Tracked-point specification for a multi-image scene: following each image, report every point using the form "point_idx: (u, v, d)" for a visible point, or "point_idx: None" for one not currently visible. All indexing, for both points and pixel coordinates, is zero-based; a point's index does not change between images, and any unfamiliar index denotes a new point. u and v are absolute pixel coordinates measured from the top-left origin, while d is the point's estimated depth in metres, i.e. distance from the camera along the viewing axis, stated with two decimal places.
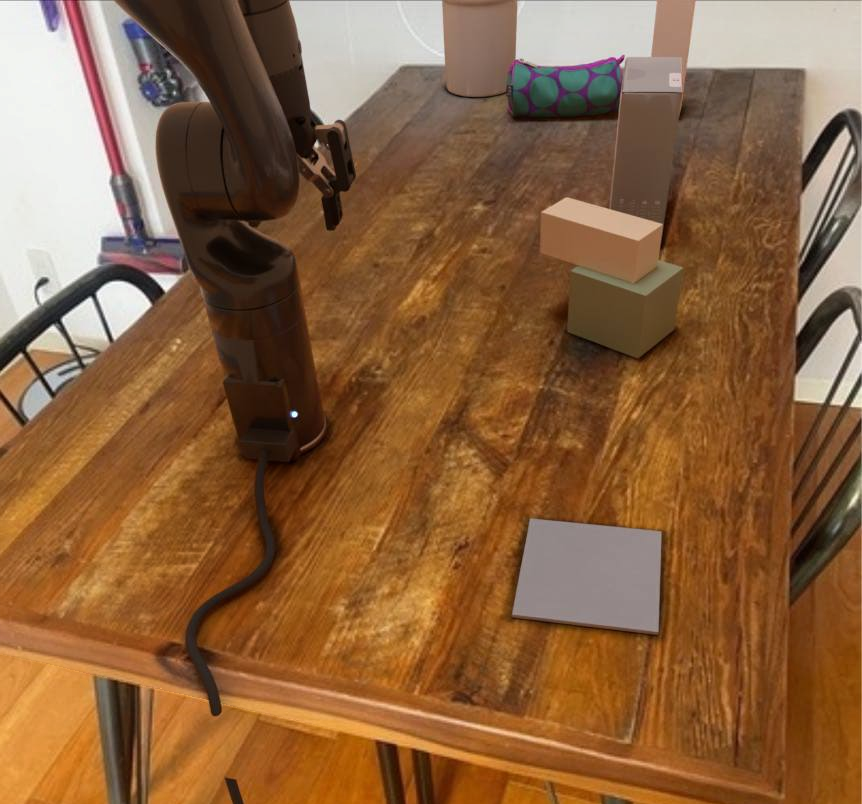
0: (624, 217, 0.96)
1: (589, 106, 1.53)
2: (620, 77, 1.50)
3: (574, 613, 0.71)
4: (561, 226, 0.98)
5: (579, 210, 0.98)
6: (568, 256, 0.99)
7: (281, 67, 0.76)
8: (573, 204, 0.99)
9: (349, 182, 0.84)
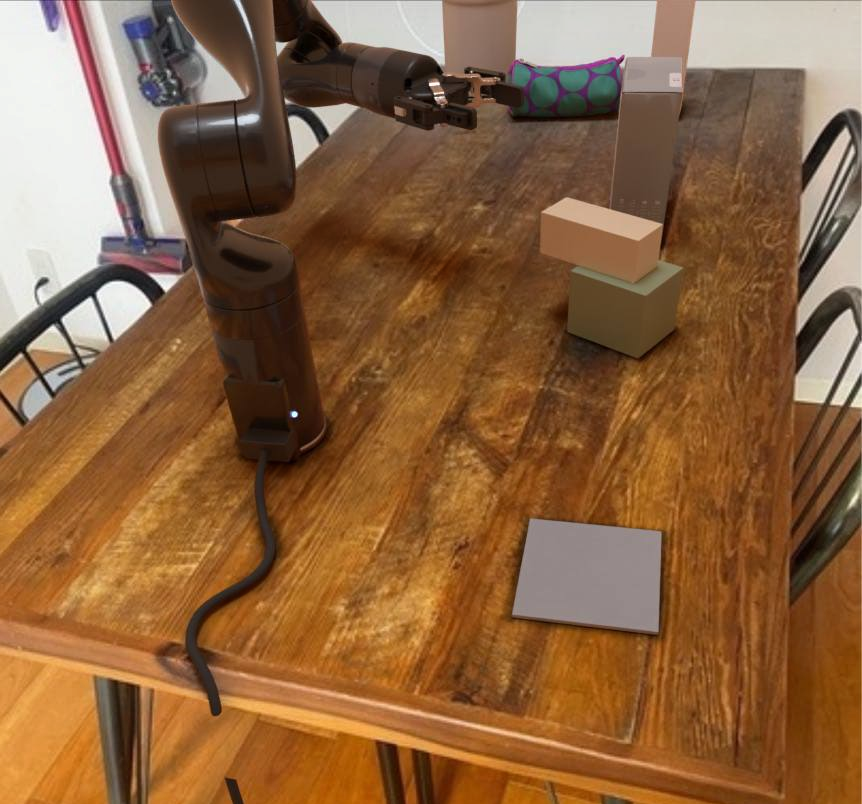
0: (624, 217, 0.96)
1: (589, 106, 1.53)
2: (620, 77, 1.50)
3: (574, 613, 0.71)
4: (561, 226, 0.98)
5: (579, 210, 0.98)
6: (568, 256, 0.99)
7: None
8: (573, 204, 0.99)
9: None
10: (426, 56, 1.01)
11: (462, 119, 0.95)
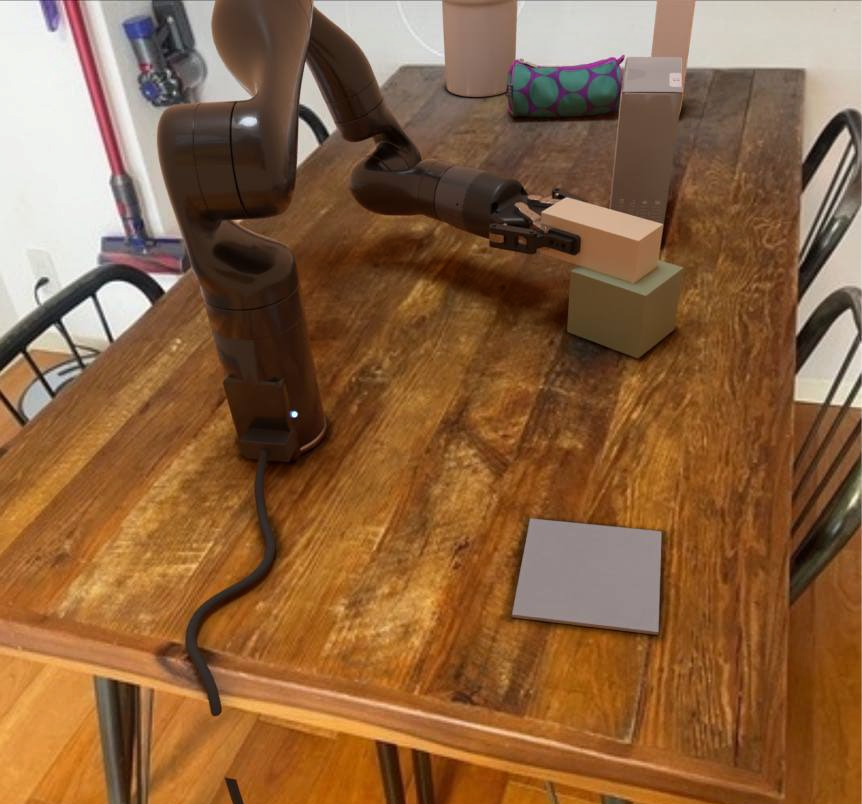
0: (624, 217, 0.96)
1: (589, 106, 1.53)
2: (620, 77, 1.50)
3: (574, 613, 0.71)
4: (561, 226, 0.98)
5: (579, 210, 0.98)
6: (568, 256, 0.99)
7: None
8: (573, 204, 0.99)
9: (585, 201, 1.03)
10: (512, 179, 1.03)
11: (567, 246, 0.97)
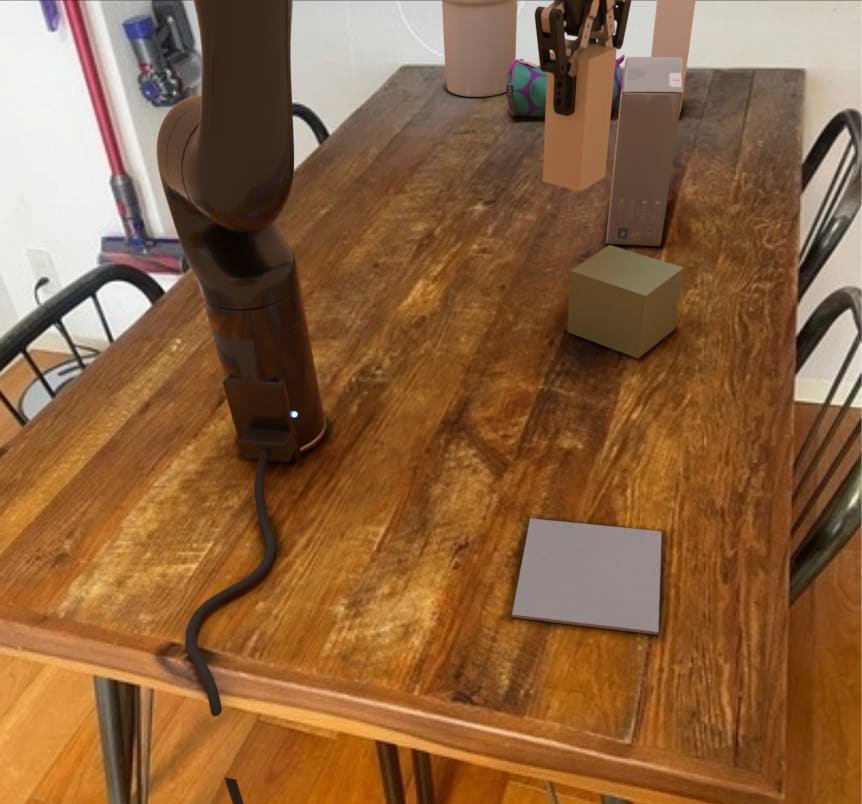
0: (603, 138, 0.92)
1: None
2: (620, 77, 1.50)
3: (574, 613, 0.71)
4: (578, 90, 0.87)
5: (602, 89, 0.88)
6: (551, 97, 0.89)
7: None
8: (608, 71, 0.87)
9: None
10: None
11: (560, 107, 0.88)
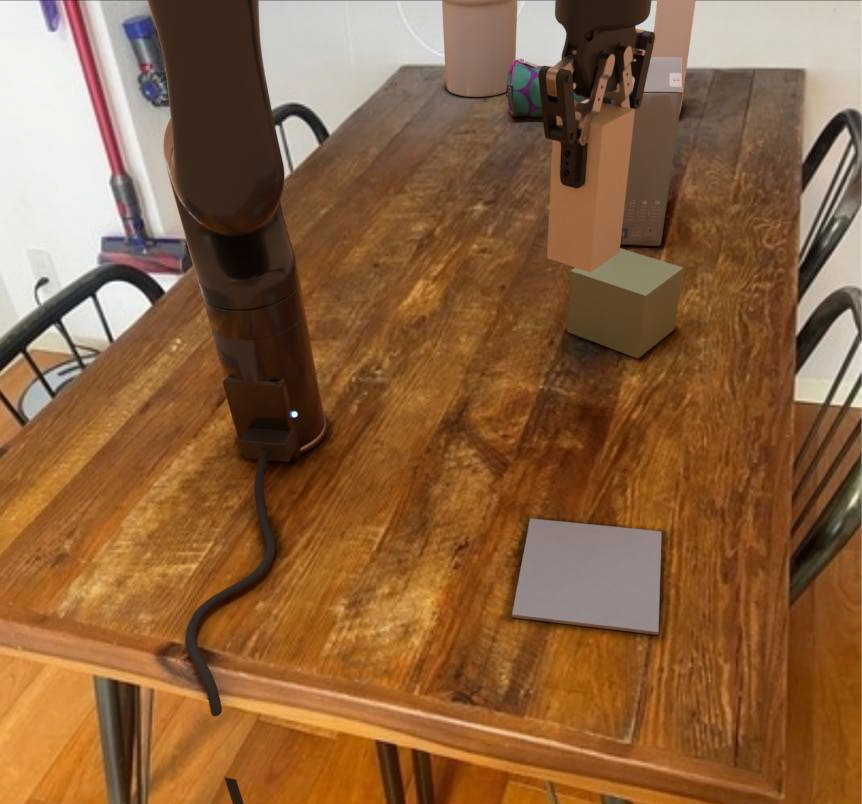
0: (618, 211, 0.79)
1: None
2: None
3: (574, 613, 0.71)
4: (590, 159, 0.73)
5: (617, 156, 0.75)
6: (557, 165, 0.76)
7: None
8: (624, 136, 0.74)
9: None
10: (646, 18, 0.67)
11: (567, 178, 0.74)
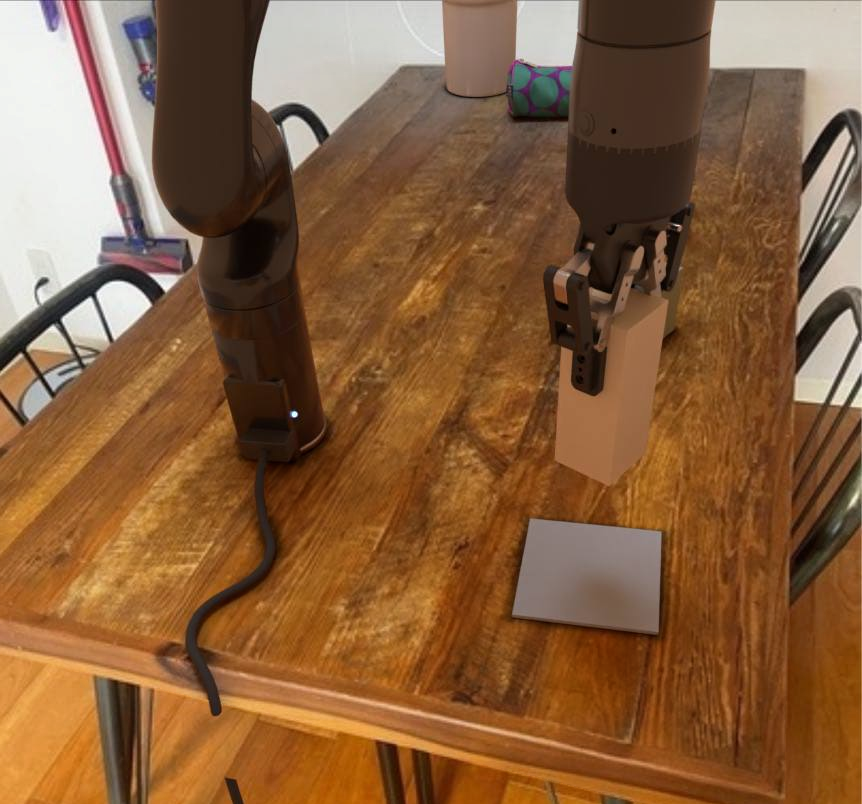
0: (645, 412, 0.62)
1: None
2: None
3: (574, 613, 0.71)
4: (610, 365, 0.57)
5: (645, 357, 0.58)
6: (568, 364, 0.59)
7: None
8: (655, 333, 0.58)
9: None
10: (686, 204, 0.50)
11: (581, 386, 0.58)
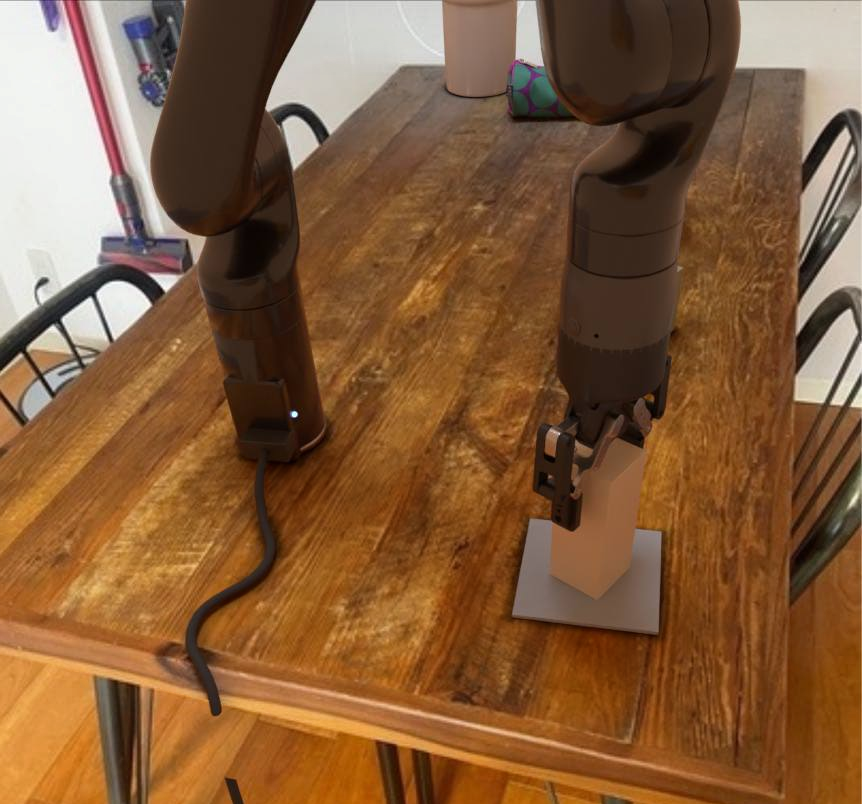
0: (628, 537, 0.71)
1: None
2: None
3: (574, 613, 0.71)
4: (596, 507, 0.66)
5: (627, 497, 0.67)
6: None
7: None
8: (635, 478, 0.66)
9: None
10: None
11: (559, 523, 0.65)
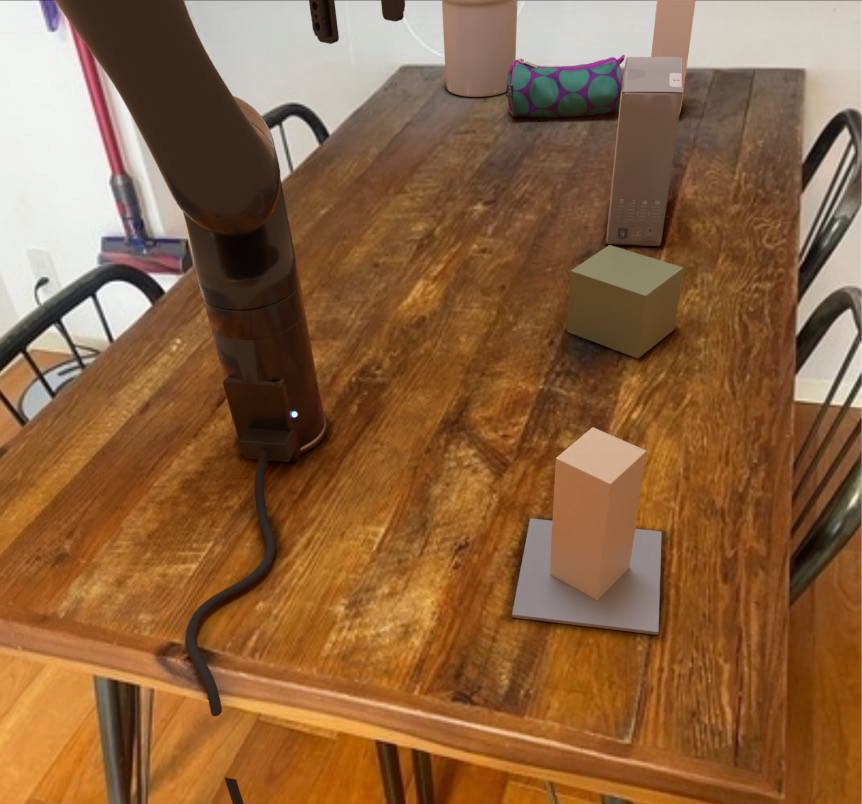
0: (628, 537, 0.71)
1: (589, 106, 1.53)
2: (620, 77, 1.50)
3: (574, 613, 0.71)
4: (596, 507, 0.66)
5: (627, 497, 0.67)
6: (560, 501, 0.68)
7: None
8: (635, 478, 0.66)
9: None
10: None
11: (319, 32, 0.76)
